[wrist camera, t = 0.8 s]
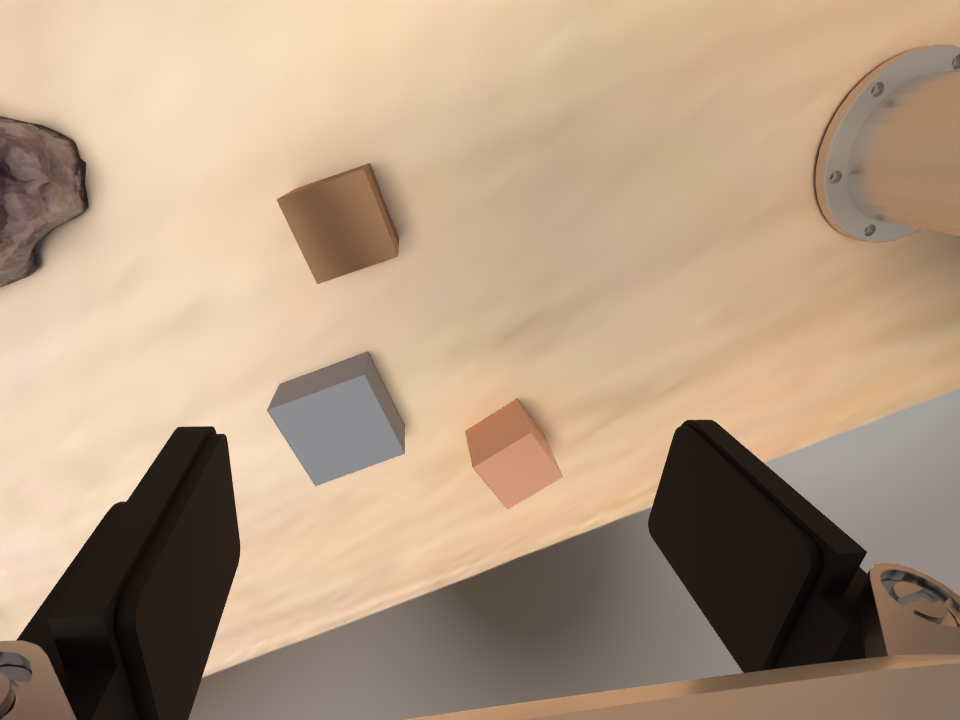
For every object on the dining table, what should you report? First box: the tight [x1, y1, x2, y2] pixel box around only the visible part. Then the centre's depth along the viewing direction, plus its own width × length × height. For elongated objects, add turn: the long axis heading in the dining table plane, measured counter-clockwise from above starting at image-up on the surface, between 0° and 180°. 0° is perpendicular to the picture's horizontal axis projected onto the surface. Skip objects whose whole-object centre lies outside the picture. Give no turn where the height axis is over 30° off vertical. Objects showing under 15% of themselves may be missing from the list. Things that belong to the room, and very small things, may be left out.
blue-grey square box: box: [267, 352, 405, 486], centre depth 37 cm, size 7×7×4 cm
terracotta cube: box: [465, 399, 563, 509], centre depth 39 cm, size 5×5×5 cm
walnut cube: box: [277, 163, 399, 284], centre depth 30 cm, size 5×5×5 cm
